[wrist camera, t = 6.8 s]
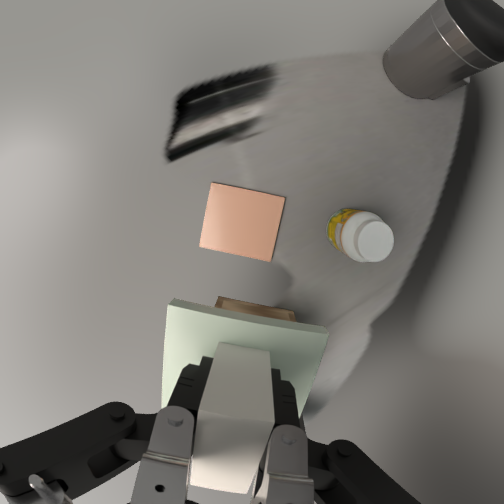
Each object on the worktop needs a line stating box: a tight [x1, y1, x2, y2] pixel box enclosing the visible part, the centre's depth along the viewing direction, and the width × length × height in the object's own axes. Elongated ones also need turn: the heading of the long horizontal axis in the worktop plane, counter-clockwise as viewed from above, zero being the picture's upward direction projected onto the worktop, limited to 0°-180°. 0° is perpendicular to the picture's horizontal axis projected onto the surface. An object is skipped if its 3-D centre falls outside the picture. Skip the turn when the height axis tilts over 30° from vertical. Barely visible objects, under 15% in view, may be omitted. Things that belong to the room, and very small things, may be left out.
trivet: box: [199, 183, 285, 262], centre depth 33 cm, size 9×8×1 cm
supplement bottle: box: [326, 209, 394, 262], centre depth 29 cm, size 5×5×10 cm
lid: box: [162, 298, 329, 494], centre depth 11 cm, size 8×8×6 cm
